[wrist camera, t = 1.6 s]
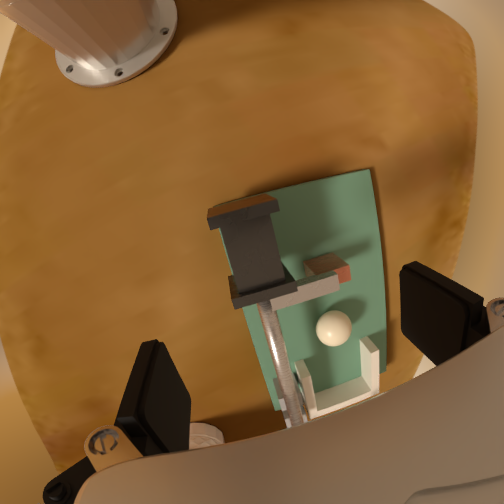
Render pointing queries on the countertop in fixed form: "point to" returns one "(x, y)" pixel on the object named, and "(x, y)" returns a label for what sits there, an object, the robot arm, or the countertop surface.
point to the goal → (346, 391)
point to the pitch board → (345, 300)
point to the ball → (333, 328)
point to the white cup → (204, 435)
